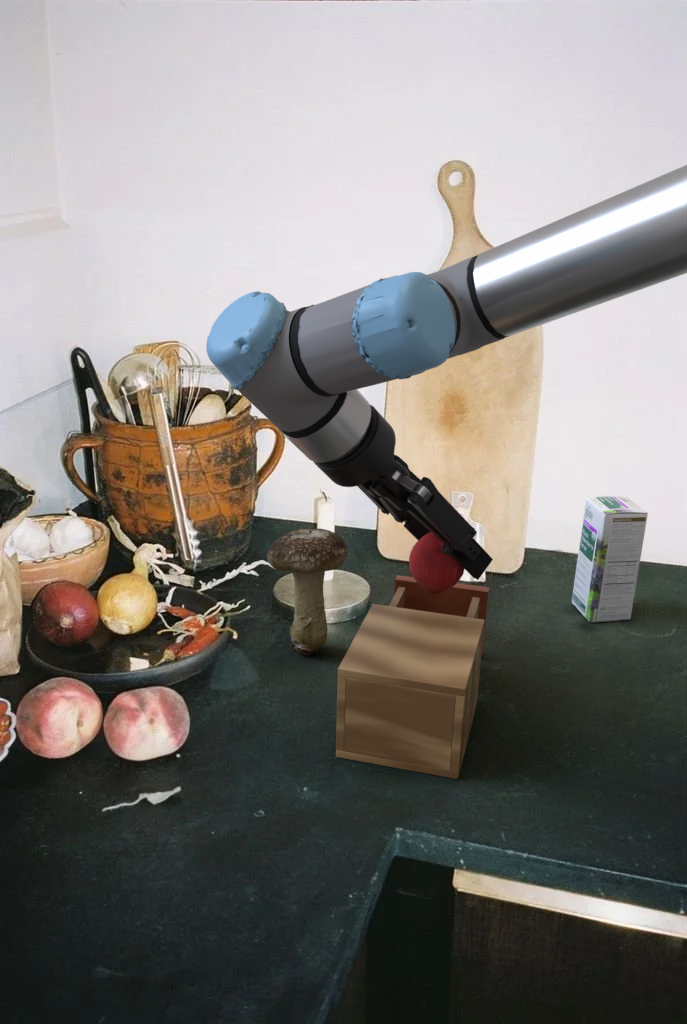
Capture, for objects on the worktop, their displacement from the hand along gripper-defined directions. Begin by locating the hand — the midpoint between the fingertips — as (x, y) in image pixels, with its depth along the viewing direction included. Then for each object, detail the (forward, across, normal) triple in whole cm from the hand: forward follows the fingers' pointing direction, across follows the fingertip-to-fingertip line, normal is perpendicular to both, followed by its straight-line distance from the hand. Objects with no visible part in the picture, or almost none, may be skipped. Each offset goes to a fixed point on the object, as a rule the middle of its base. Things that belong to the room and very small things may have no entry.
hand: (462, 557), depth 100 cm
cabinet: (+1, -7, +18) cm, 19 cm away
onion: (0, 0, +5) cm, 5 cm away
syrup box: (+26, 0, -8) cm, 27 cm away
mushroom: (0, +11, +18) cm, 21 cm away
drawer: (+7, +1, +10) cm, 12 cm away
